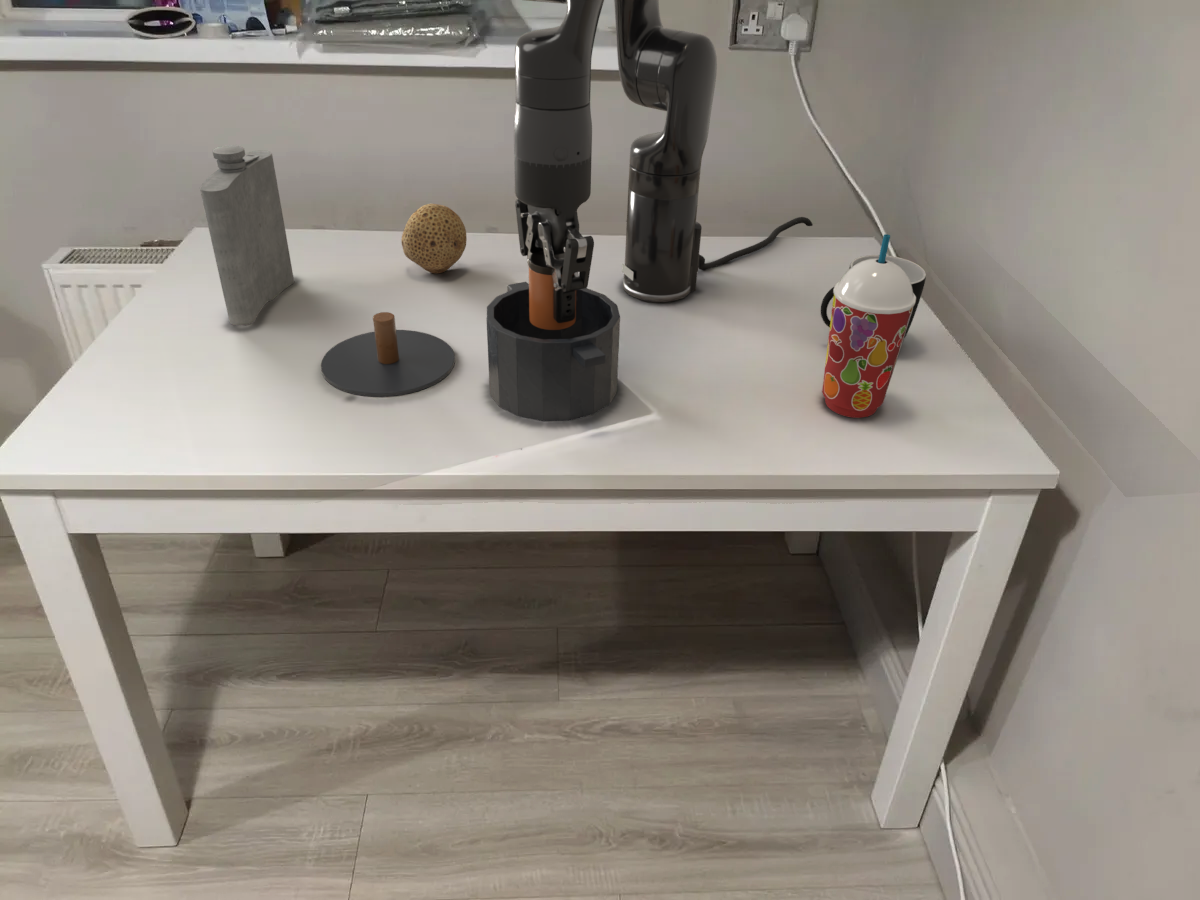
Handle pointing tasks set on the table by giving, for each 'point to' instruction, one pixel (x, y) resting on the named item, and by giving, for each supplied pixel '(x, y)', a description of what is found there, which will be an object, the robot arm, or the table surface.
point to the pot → (552, 357)
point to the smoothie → (866, 334)
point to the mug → (910, 268)
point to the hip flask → (246, 231)
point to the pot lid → (387, 361)
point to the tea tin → (543, 294)
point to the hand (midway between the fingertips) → (552, 309)
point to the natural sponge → (434, 238)
